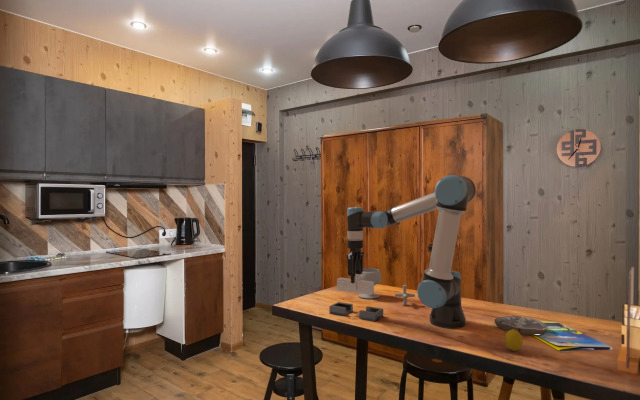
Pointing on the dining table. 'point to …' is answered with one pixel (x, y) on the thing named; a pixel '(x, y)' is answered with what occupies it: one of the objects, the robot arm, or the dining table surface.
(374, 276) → the chalice
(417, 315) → the dining table surface
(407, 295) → the pipe connector
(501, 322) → the mottled grey flat slab
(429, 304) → the robot arm
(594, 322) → the dining table surface
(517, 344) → the lemon
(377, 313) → the dark grey open boxes
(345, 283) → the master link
